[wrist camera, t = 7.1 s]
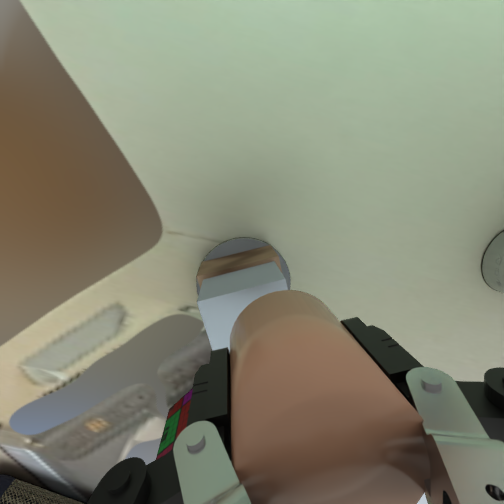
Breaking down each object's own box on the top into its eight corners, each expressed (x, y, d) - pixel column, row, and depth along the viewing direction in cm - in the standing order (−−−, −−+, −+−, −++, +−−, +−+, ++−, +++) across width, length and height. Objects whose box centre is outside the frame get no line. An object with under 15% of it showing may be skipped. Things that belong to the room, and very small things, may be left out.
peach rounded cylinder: (330, 278, 12) (433, 367, 6) (343, 374, 13) (437, 523, 7) (217, 304, 12) (209, 422, 6) (242, 399, 13) (254, 573, 7)
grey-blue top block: (274, 261, 25) (285, 278, 20) (288, 324, 27) (302, 354, 22) (203, 279, 25) (196, 302, 20) (222, 342, 26) (221, 377, 22)
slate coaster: (278, 227, 30) (280, 228, 29) (295, 311, 33) (298, 314, 32) (186, 250, 30) (184, 252, 29) (211, 332, 33) (210, 337, 32)
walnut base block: (270, 244, 30) (278, 255, 25) (283, 307, 32) (294, 328, 27) (201, 261, 29) (196, 276, 24) (219, 323, 31) (218, 348, 26)
